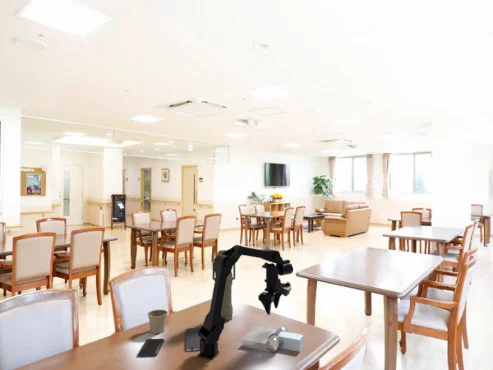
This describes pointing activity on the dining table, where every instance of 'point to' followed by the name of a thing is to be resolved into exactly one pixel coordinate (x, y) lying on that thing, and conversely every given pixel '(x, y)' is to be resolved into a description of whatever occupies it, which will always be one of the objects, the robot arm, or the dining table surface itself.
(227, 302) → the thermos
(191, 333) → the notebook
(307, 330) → the dining table surface
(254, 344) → the steel hinge leaf
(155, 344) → the phone
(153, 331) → the flower pot
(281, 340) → the blue-grey hinge leaf
